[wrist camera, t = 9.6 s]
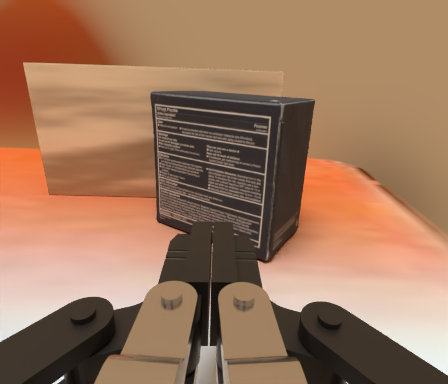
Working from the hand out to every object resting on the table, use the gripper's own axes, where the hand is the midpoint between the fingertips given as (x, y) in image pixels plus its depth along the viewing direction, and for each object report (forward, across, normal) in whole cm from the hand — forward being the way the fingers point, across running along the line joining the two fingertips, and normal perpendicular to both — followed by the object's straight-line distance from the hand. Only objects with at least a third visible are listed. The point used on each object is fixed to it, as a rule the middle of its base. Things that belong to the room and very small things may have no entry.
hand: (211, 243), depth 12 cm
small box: (+13, -1, +6) cm, 14 cm away
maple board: (+20, +5, +6) cm, 22 cm away
